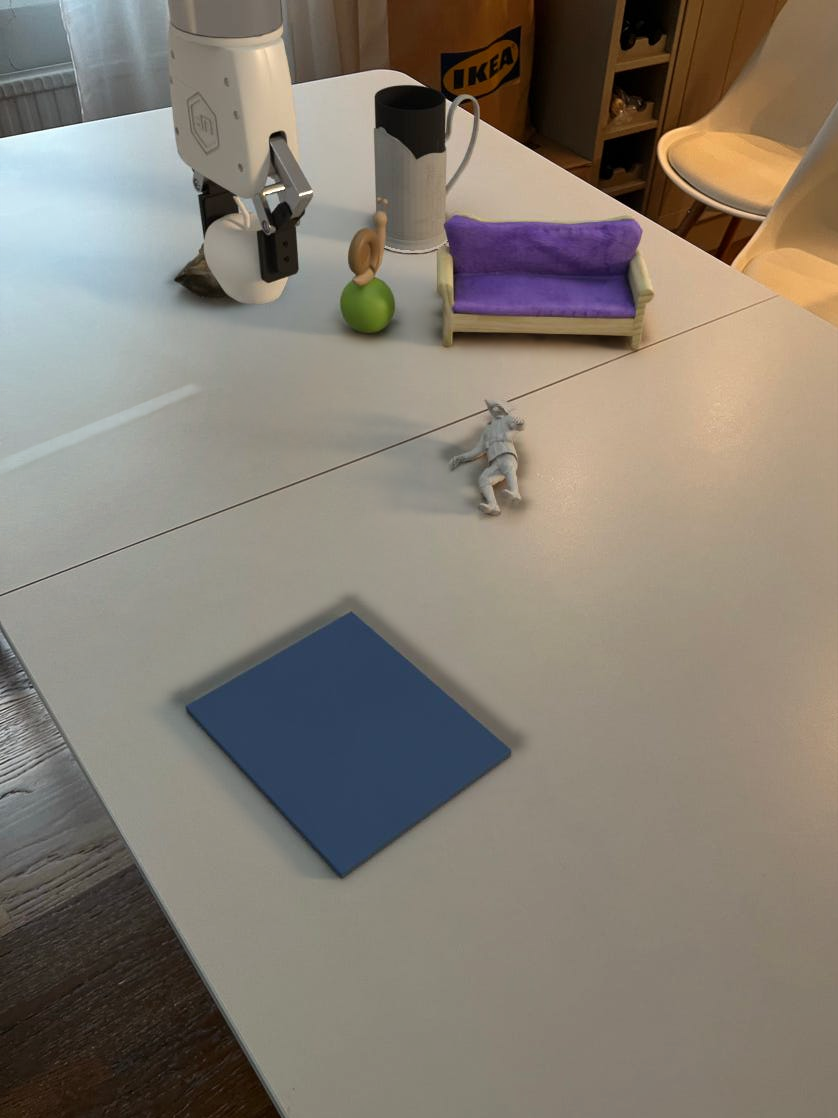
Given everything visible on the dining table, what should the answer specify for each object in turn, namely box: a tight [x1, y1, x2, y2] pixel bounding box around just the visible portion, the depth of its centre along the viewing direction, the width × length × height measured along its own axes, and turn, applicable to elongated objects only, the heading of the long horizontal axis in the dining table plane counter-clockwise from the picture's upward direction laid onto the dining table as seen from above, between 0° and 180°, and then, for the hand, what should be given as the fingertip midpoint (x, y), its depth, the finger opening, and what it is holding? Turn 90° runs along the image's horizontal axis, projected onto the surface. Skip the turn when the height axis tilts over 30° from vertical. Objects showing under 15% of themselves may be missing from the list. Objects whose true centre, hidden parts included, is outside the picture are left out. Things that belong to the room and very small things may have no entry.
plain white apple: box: [203, 196, 289, 305], centre depth 82 cm, size 7×7×8 cm
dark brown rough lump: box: [173, 242, 230, 299], centre depth 107 cm, size 8×7×10 cm
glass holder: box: [373, 84, 481, 251], centre depth 115 cm, size 9×14×15 cm, turn 132°
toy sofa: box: [436, 210, 655, 350], centre depth 103 cm, size 21×9×10 cm, turn 91°
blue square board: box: [185, 611, 512, 879], centre depth 69 cm, size 14×17×1 cm
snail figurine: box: [339, 197, 396, 334], centre depth 101 cm, size 5×6×12 cm
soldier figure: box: [448, 397, 527, 516], centre depth 88 cm, size 8×5×12 cm
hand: (250, 256), depth 83 cm, fingers closed on plain white apple, 7 cm apart
